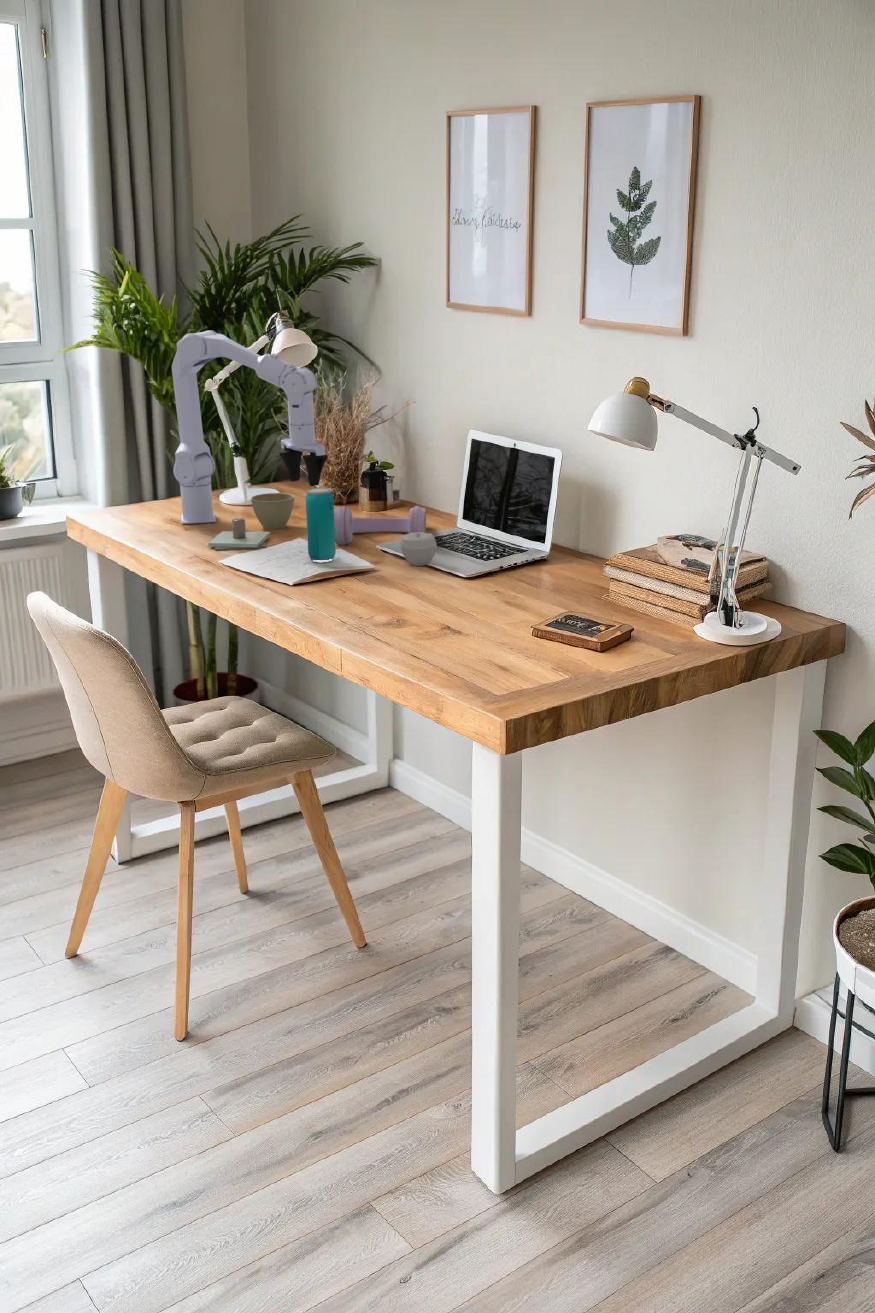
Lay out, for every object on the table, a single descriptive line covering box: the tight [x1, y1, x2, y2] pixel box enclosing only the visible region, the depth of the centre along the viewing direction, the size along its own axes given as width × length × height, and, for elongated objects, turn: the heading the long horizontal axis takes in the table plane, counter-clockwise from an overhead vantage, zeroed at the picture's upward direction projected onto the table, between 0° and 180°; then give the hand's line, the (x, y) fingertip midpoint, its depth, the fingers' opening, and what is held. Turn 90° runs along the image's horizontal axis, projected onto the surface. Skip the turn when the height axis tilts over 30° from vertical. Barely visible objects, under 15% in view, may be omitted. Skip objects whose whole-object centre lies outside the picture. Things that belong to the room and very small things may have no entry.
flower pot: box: [250, 492, 295, 530], centre depth 290 cm, size 10×10×7 cm
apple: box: [399, 532, 438, 567], centre depth 257 cm, size 8×8×7 cm
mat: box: [212, 535, 267, 552], centre depth 277 cm, size 12×11×1 cm
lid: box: [207, 517, 271, 549], centre depth 276 cm, size 11×11×5 cm
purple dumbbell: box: [334, 505, 427, 546], centre depth 279 cm, size 20×10×20 cm
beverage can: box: [305, 486, 337, 560], centre depth 259 cm, size 6×6×15 cm
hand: (304, 483), depth 286 cm, fingers open, 7 cm apart
